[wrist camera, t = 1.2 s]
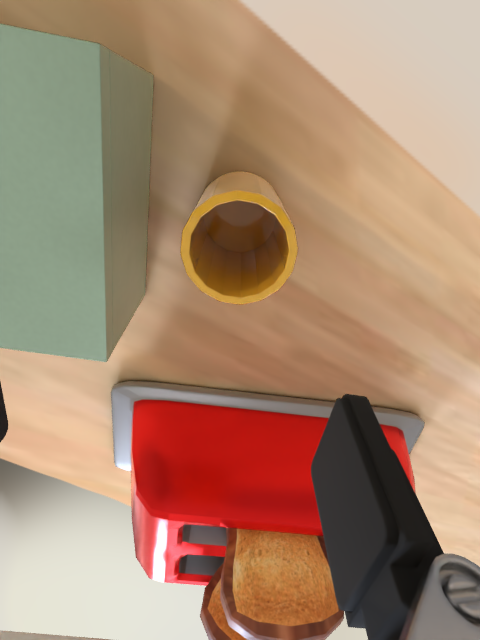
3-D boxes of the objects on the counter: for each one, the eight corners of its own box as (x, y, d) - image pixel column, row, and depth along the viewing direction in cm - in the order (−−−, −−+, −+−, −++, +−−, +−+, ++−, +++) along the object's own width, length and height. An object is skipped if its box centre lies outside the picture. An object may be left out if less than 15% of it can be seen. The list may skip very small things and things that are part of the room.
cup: (203, 163, 26) (186, 181, 18) (289, 179, 26) (310, 202, 18) (194, 248, 29) (176, 295, 21) (271, 261, 29) (282, 311, 21)
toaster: (424, 410, 37) (570, 640, 20) (383, 488, 43) (470, 713, 27) (114, 375, 35) (-1, 598, 18) (117, 462, 41) (33, 688, 25)
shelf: (-72, 30, 22) (-281, -33, 13) (154, 74, 23) (99, 43, 14) (-23, 269, 30) (-134, 330, 21) (145, 294, 31) (106, 362, 22)
